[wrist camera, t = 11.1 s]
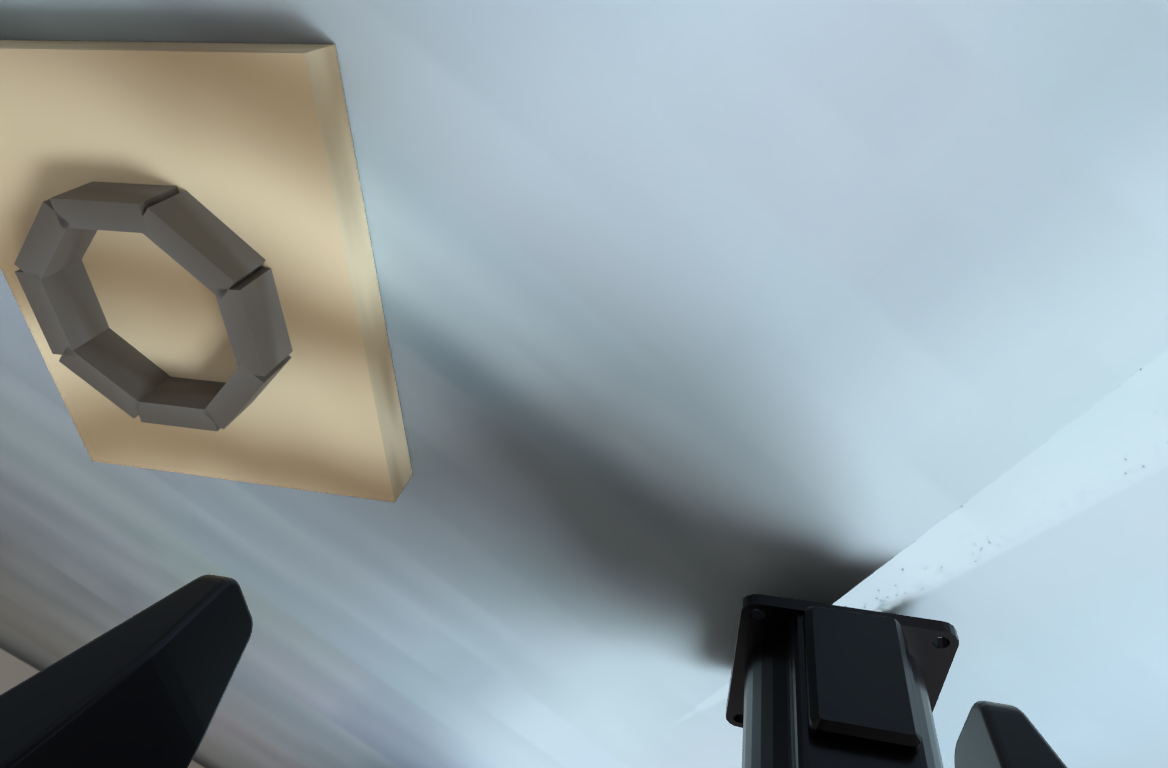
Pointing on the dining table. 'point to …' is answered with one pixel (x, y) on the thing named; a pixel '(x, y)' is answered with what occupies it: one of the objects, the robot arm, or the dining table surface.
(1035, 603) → the dining table surface
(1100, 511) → the dining table surface
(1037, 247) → the dining table surface
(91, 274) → the eye plate
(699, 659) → the dining table surface
